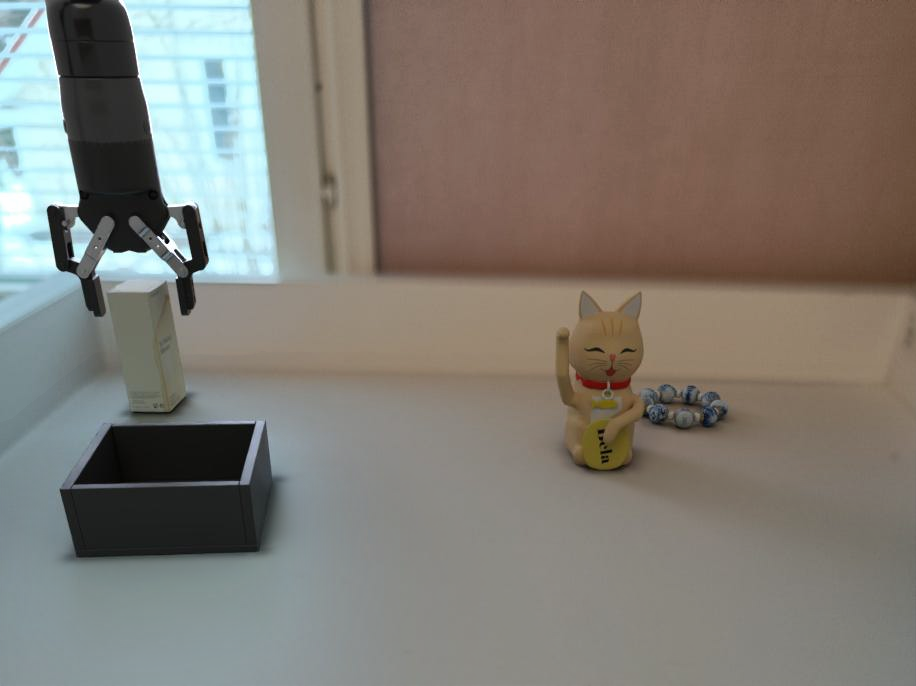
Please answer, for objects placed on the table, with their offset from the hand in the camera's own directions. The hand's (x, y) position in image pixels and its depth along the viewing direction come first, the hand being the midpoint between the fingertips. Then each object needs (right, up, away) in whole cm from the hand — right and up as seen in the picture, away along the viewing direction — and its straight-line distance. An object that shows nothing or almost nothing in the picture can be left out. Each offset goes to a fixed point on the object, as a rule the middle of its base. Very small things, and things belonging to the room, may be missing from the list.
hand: (143, 314), depth 93 cm
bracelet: (+56, -9, +6) cm, 57 cm away
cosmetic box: (0, -8, +5) cm, 10 cm away
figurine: (+45, -16, -5) cm, 48 cm away
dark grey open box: (+10, -23, -17) cm, 30 cm away
